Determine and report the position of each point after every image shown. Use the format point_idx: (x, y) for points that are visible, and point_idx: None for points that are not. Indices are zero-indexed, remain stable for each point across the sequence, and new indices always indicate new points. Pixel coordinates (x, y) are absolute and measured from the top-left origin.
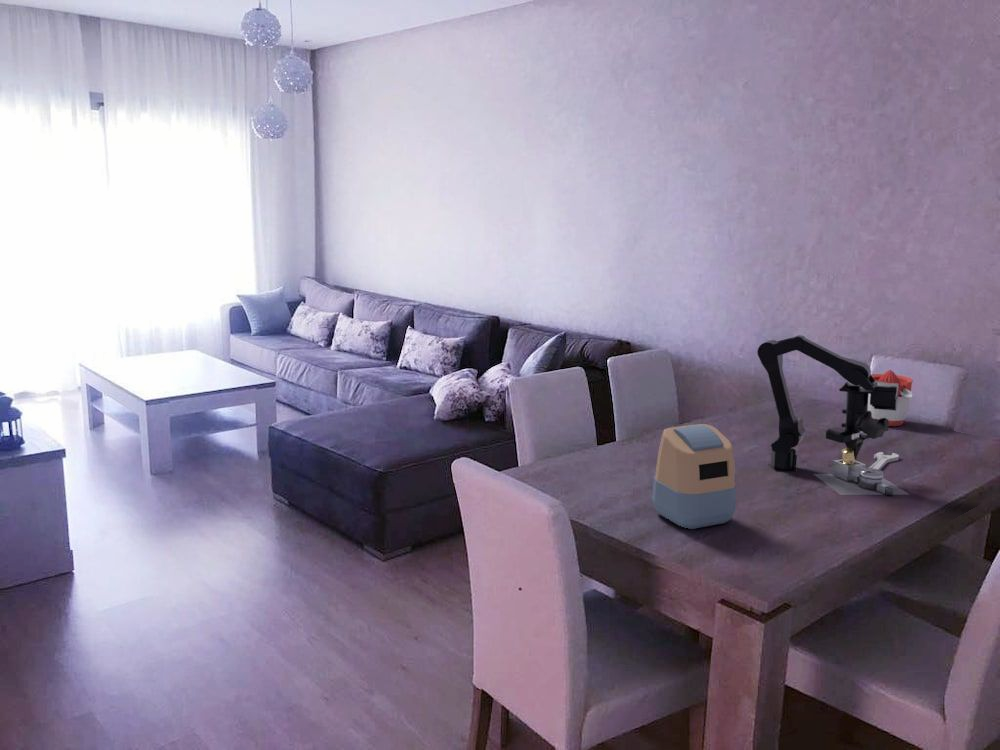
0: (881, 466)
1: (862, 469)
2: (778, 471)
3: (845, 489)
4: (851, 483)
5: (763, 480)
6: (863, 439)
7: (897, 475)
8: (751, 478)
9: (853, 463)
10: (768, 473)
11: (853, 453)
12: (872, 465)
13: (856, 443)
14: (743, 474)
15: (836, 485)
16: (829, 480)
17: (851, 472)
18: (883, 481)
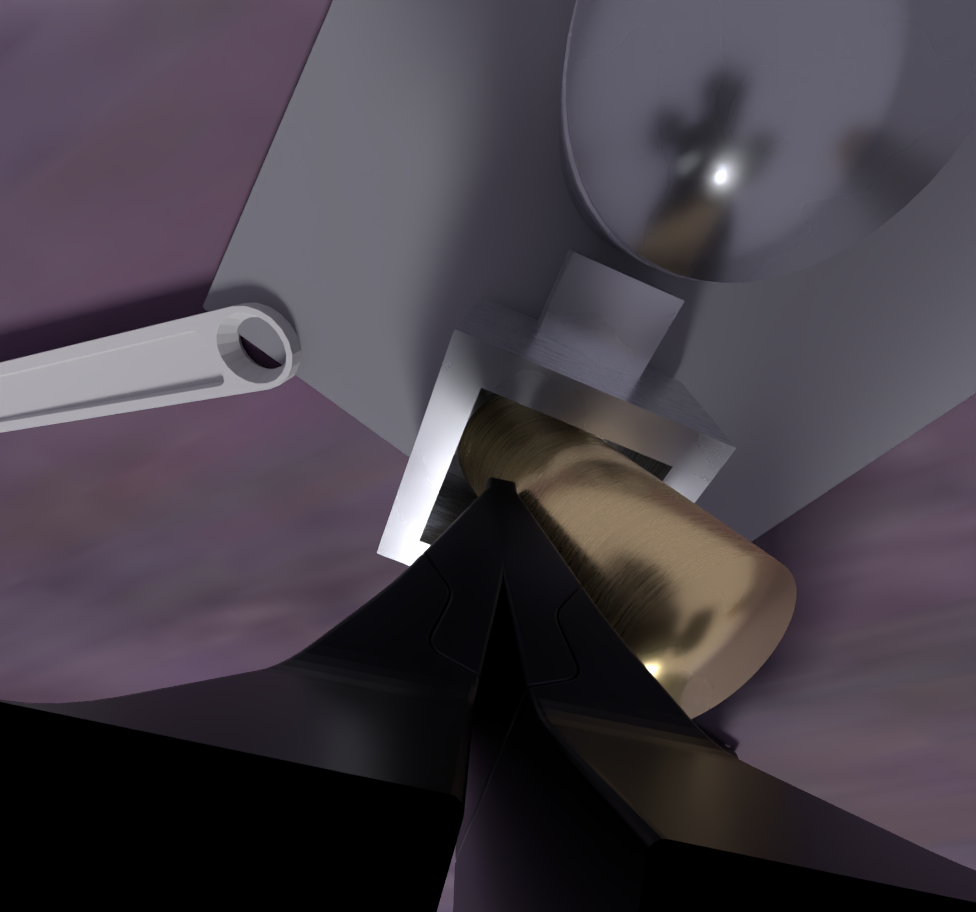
0: (26, 356)
1: (758, 242)
2: (730, 749)
3: (946, 285)
4: (682, 333)
5: (970, 754)
6: (460, 809)
7: (35, 141)
8: (961, 795)
9: (600, 446)
10: (788, 767)
11: (684, 545)
12: (95, 411)
13: (666, 742)
14: (896, 828)
15: (842, 403)
16: (722, 496)
17: (661, 392)
18: (360, 119)
